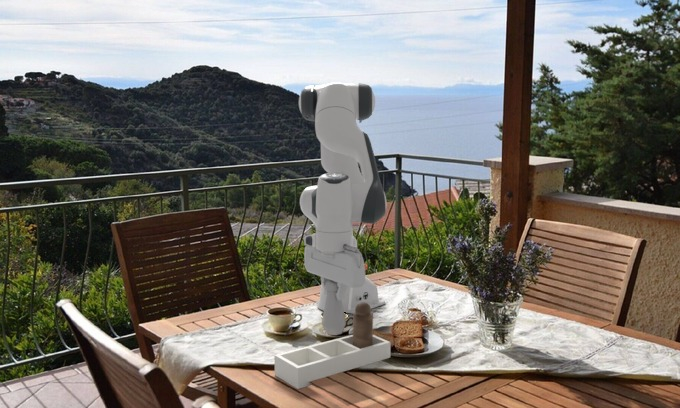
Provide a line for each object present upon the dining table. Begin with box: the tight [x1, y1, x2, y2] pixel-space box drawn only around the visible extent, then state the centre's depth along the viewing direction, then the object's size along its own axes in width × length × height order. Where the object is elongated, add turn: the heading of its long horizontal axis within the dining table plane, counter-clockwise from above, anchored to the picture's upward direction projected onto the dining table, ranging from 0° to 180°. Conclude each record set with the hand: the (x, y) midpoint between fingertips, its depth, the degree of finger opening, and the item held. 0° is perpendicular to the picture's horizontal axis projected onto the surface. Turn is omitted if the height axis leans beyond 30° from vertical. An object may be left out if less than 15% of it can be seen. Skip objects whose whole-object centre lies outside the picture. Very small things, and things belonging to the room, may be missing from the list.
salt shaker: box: [321, 280, 347, 336], centre depth 163 cm, size 6×6×13 cm
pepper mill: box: [352, 302, 374, 349], centre depth 169 cm, size 5×5×14 cm
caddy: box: [273, 334, 392, 390], centre depth 165 cm, size 28×10×5 cm, turn 127°
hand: (334, 297), depth 162 cm, fingers closed on salt shaker, 3 cm apart
